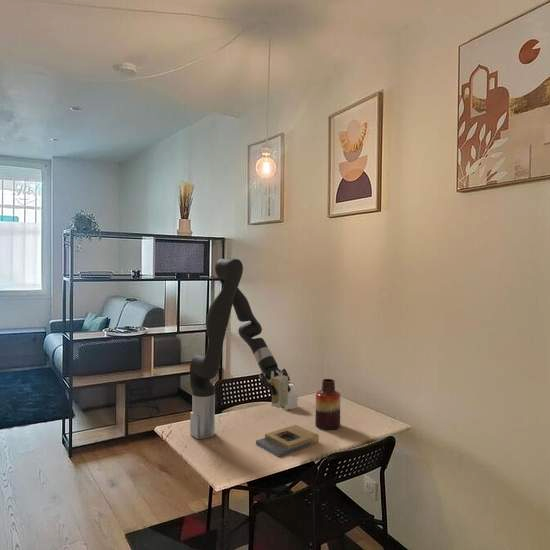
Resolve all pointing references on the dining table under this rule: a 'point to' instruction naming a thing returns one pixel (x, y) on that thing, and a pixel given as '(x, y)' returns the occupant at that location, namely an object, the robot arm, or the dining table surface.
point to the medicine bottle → (291, 398)
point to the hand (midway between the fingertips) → (282, 393)
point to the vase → (328, 406)
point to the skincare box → (280, 391)
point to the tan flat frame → (281, 447)
